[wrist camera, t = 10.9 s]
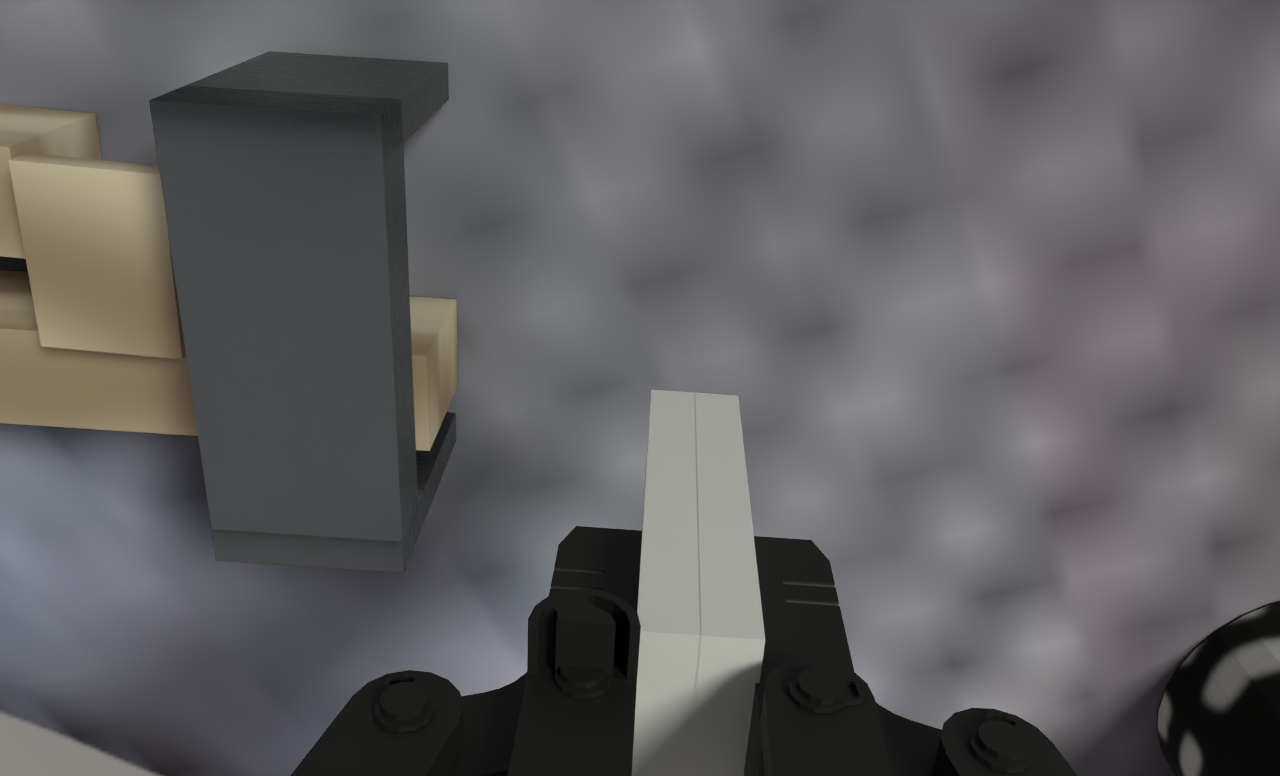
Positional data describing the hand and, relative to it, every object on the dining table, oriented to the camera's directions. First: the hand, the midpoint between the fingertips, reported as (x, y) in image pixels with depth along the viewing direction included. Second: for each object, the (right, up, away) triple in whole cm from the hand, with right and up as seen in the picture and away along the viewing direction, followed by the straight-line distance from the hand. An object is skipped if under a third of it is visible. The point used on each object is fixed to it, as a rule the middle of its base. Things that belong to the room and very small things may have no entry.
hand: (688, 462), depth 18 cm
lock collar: (-7, +4, +7) cm, 11 cm away
